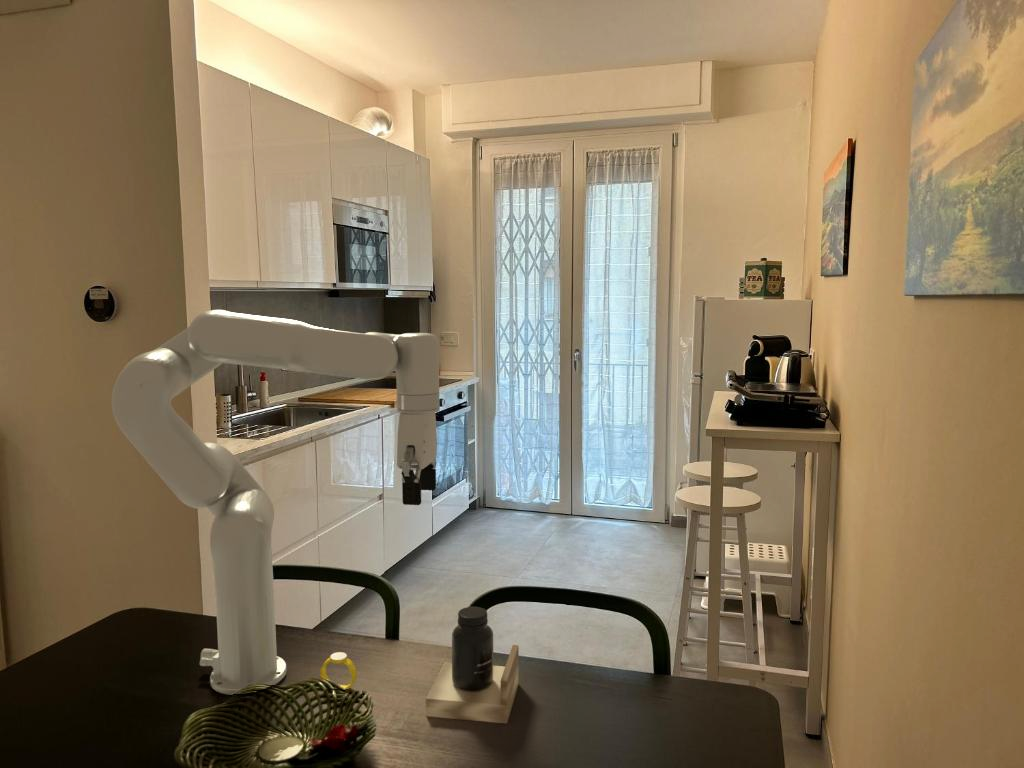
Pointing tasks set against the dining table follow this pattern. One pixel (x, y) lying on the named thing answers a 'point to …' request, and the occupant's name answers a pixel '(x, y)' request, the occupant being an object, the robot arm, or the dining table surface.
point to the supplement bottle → (472, 650)
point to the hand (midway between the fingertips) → (419, 496)
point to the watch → (337, 658)
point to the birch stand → (476, 694)
